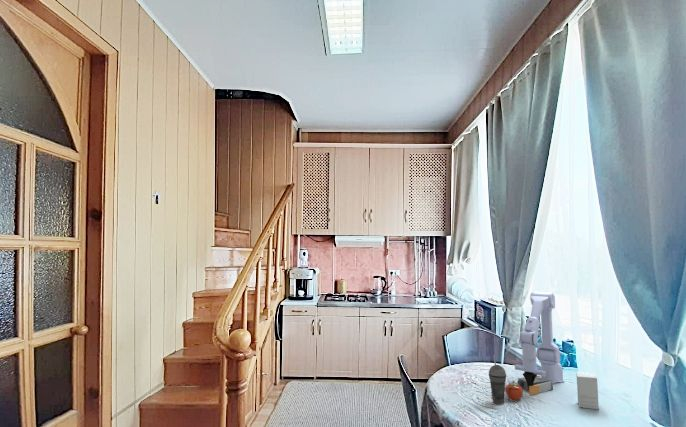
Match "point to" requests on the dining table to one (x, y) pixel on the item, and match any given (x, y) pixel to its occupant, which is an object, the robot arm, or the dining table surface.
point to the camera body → (537, 380)
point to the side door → (540, 387)
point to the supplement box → (587, 390)
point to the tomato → (514, 391)
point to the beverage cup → (497, 383)
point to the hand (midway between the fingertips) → (530, 389)
